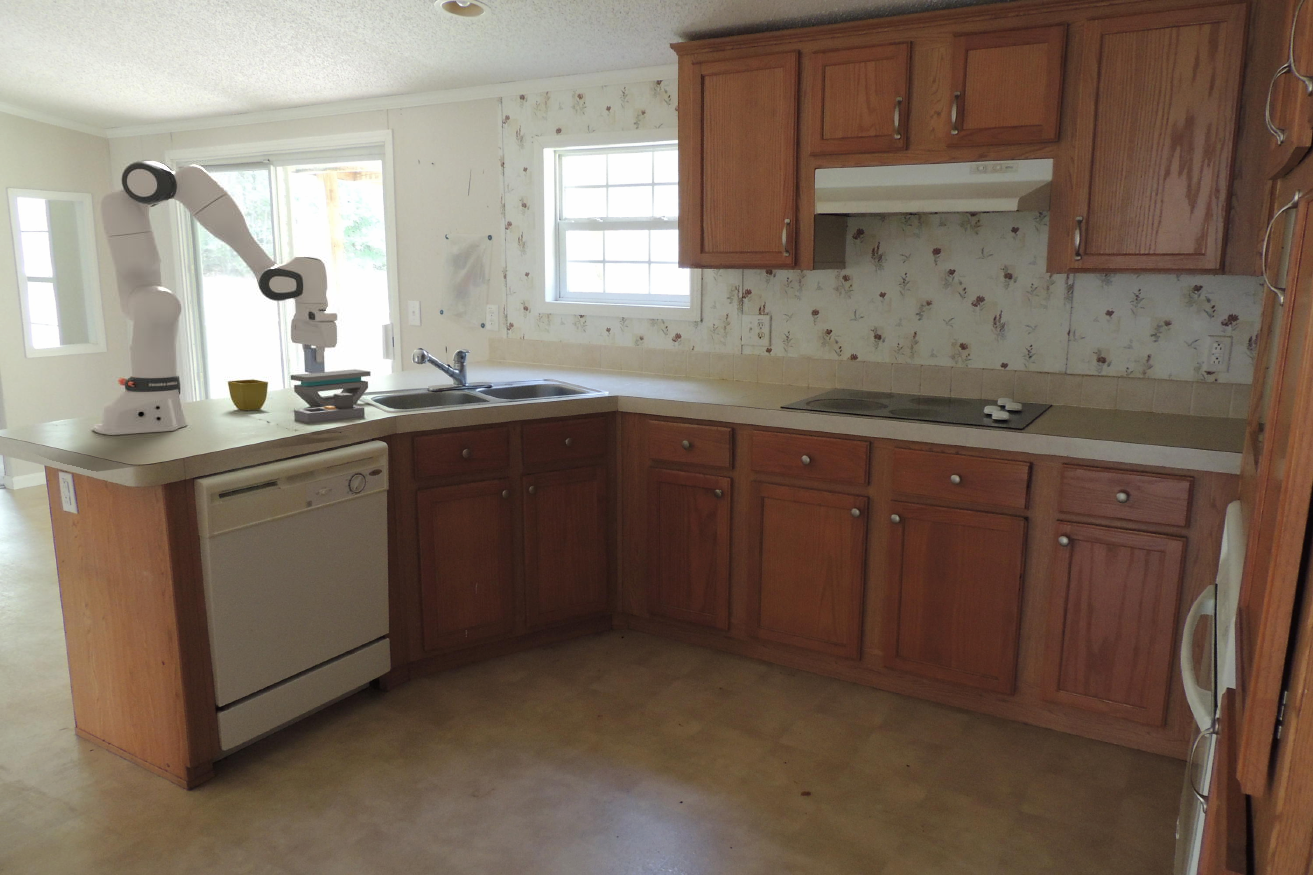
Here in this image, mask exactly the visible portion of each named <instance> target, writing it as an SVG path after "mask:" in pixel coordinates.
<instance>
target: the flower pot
mask: <svg viewBox="0 0 1313 875" xmlns="http://www.w3.org/2000/svg"><path fill="white" fill-rule="evenodd" d="M227 385H228V391H229V396H230V398H231V401H232V403H233V405H234V406H235V407H236V409H237V410H240V411H245V412H247V411H254V410H256V411H258V410H257V409H259V410H261V409H262V408H263V406H264V404H265V402H266V400H267V397H268V396H267V395H268V387H269V381H266V380H265V381H263V380H258V379H254V378H253V379H252V378H251V379H239V380H237V379H235V380H228V381H227Z"/></svg>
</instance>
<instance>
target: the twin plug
mask: <svg viewBox="0 0 1313 875" xmlns="http://www.w3.org/2000/svg"><path fill="white" fill-rule="evenodd" d="M333 395H334V407H336V408H337V409H347V408H353V394H349V393H341V392H340V393H338V392H337V393H333Z"/></svg>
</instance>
